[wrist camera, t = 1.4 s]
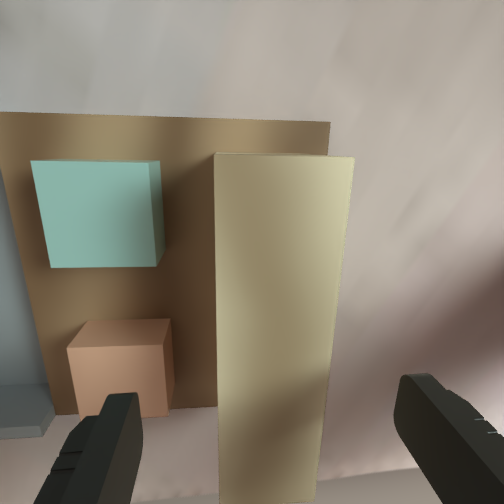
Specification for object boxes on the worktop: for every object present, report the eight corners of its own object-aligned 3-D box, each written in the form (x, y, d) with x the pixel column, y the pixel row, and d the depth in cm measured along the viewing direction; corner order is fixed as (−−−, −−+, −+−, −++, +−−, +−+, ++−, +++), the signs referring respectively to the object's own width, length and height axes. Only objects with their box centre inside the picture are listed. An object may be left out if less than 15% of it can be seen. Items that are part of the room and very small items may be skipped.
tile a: (159, 160, 15) (148, 162, 13) (165, 249, 16) (156, 266, 14) (61, 158, 15) (30, 160, 12) (76, 250, 16) (51, 267, 14)
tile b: (170, 318, 18) (162, 344, 15) (175, 383, 19) (168, 416, 17) (87, 320, 17) (66, 348, 15) (98, 387, 19) (80, 421, 16)
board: (315, 125, 18) (330, 121, 15) (296, 375, 23) (304, 401, 21) (22, 116, 16) (-12, 111, 14) (73, 385, 21) (55, 415, 19)
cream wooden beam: (298, 153, 16) (354, 157, 9) (283, 384, 20) (314, 501, 13) (217, 151, 15) (213, 154, 9) (220, 387, 20) (219, 509, 13)
